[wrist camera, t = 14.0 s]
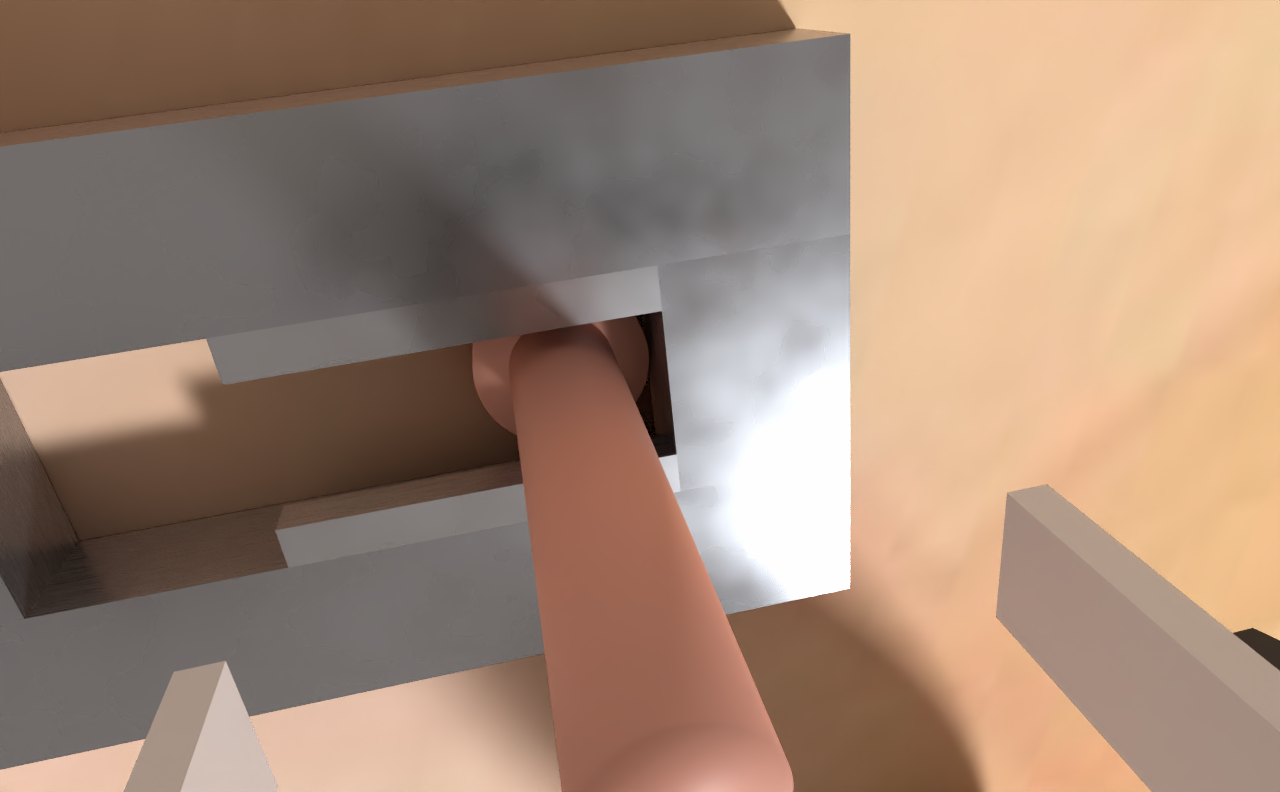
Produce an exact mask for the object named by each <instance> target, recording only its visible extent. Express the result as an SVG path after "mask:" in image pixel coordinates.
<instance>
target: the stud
mask: <svg viewBox="0 0 1280 792" xmlns="http://www.w3.org/2000/svg"><path fill="white" fill-rule="evenodd" d="M648 367H649V352H648V346H647V341H646V338H645V335H644V332H643V330H642V328H641V326H640V324H639V322H638V320H637V318H636V316H629V317H623V318H618V319H612V320H606V321H600V322H594V323H588V324H582V325H576V326H570V327H564V328H558V329H552V330H546V331H540V332H534V333H529V334H523V335H517V336H511V337H505V338H499V339H493V340H487V341H481V342H475V343H472V371H473V379H474V384H475V387H476V391H477V393H478V396H479V398H480V400H481V402H482V404H483V405H484V407H485V409H486V410H487V412H488V413H489V414H490V415H491V416H492V418H493V419H494V420H495V421H496V422H498V423H499V424H500V425H501V426H502V427H504V428H505V429H506V430H508V431H509V432H511V433H513V434H515V435H517V439H518V447H519V454H520V462H521V470H522V478H523V486H524V494H525V502H526V510H527V518H528V526H529V534H530V542H531V549H532V557H533V565H534V573H535V581H536V589H537V597H538V605H539V613H540V621H541V629H542V637H543V644H544V652H545V660H546V668H547V676H548V684H549V692H550V700H551V708H552V716H553V724H554V732H555V739H556V747H557V755H558V763H559V771H560V779H561V787H562V792H793V788H794V783H793V775H792V771H791V768H790V765H789V763H788V760H787V758H786V756H785V753H784V751H783V749H782V746H781V744H780V742H779V739H778V737H777V734H776V732H775V730H774V727H773V725H772V723H771V720H770V718H769V716H768V713H767V711H766V709H765V706H764V704H763V702H762V699H761V697H760V695H759V692H758V690H757V687H756V685H755V683H754V680H753V678H752V676H751V673H750V671H749V669H748V666H747V664H746V662H745V659H744V657H743V655H742V652H741V650H740V648H739V645H738V643H737V641H736V638H735V636H734V633H733V631H732V629H731V626H730V624H729V622H728V619H727V617H726V615H725V612H724V610H723V608H722V605H721V603H720V601H719V598H718V596H717V594H716V591H715V589H714V587H713V584H712V582H711V579H710V577H709V575H708V572H707V570H706V568H705V565H704V563H703V561H702V558H701V556H700V554H699V551H698V549H697V547H696V544H695V542H694V540H693V537H692V535H691V533H690V530H689V528H688V525H687V523H686V521H685V518H684V516H683V514H682V511H681V509H680V507H679V504H678V502H677V500H676V497H675V495H674V493H673V490H672V488H671V486H670V483H669V481H668V479H667V476H666V474H665V471H664V469H663V467H662V464H661V462H660V460H659V457H658V455H657V453H656V450H655V448H654V446H653V443H652V441H651V439H650V436H649V434H648V432H647V429H646V427H645V425H644V422H643V420H642V417H641V415H640V413H639V410H638V408H637V406H636V402H637V400H638V399H639V397H640V395H641V393H642V391H643V388H644V386H645V383H646V379H647V375H648Z"/></svg>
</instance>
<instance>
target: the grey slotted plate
mask: <svg viewBox="0 0 1280 792" xmlns="http://www.w3.org/2000/svg"><path fill="white" fill-rule="evenodd" d="M641 314H642V319H643V327H644V335H645V338H646V341H647V346H648V352H649V367H648V371H649V380H650V389H651V398H652V406H653V415H654V424H655V433H656V434H654V435H649V436H650V439H651V441H652V443H653V446H654V448H655V450H656V453H657V455H658V457H659V460H660V462H661V464H662V467H663V469H664V471H665V474H666V476H667V479H668V481H669V483H670V486H671V488H672V490H673V493H674V495H675V497H676V500H677V502H678V504H679V507H680V509H681V511H682V514H683V516H684V518H685V521H686V523H687V525H688V528H689V530H690V533H691V535H692V537H693V540H694V542H695V544H696V547H697V549H698V551H699V554H700V556H701V558H702V561H703V563H704V565H705V568H706V570H707V572H708V575H709V577H710V579H711V582H712V584H713V587H714V589H715V591H716V594H717V596H718V598H719V601H720V603H721V605H722V608H723V610H724V612H725V615H727V614H732V613H737V612H741V611H746V610H751V609H755V608H760V607H765V606H769V605H774V604H779V603H783V602H788V601H793V600H798V599H802V598H807V597H812V596H816V595H821V594H826V593H830V592H835V591H840V590H844V589H849V588H850V34H847V33H837V32H827V31H817V30H807V29H790V30H782V31H775V32H767V33H759V34H752V35H744V36H736V37H729V38H721V39H714V40H706V41H698V42H691V43H683V44H675V45H668V46H660V47H653V48H645V49H637V50H630V51H622V52H614V53H607V54H599V55H592V56H584V57H576V58H569V59H561V60H553V61H546V62H538V63H530V64H523V65H515V66H508V67H500V68H492V69H485V70H477V71H469V72H462V73H454V74H447V75H439V76H431V77H424V78H416V79H408V80H401V81H393V82H386V83H378V84H370V85H363V86H355V87H347V88H340V89H332V90H325V91H317V92H309V93H302V94H294V95H286V96H279V97H271V98H264V99H256V100H248V101H241V102H233V103H225V104H218V105H210V106H202V107H195V108H187V109H180V110H172V111H164V112H157V113H149V114H141V115H134V116H126V117H119V118H111V119H103V120H96V121H88V122H80V123H73V124H65V125H58V126H50V127H42V128H35V129H27V130H19V131H12V132H4V133H0V372H2V371H8V370H14V369H21V368H27V367H33V366H39V365H45V364H52V363H58V362H64V361H70V360H76V359H82V358H89V357H95V356H101V355H107V354H113V353H119V352H126V351H132V350H138V349H144V348H150V347H156V346H163V345H169V344H175V343H181V342H187V341H194V340H200V339H207V342H208V345H209V348H210V350H211V353H212V356H213V359H214V362H215V364H216V367H217V370H218V373H219V376H220V378H221V381H222V384H223V385H226V384H232V383H238V382H244V381H250V380H256V379H262V378H267V377H273V376H279V375H285V374H291V373H297V372H303V371H309V370H315V369H321V368H327V367H333V366H339V365H345V364H351V363H356V362H362V361H368V360H374V359H380V358H386V357H392V356H398V355H404V354H410V353H416V352H422V351H428V350H434V349H440V348H445V347H451V346H457V345H463V344H469V343H475V342H481V341H487V340H493V339H499V338H505V337H511V336H517V335H523V334H529V333H534V332H540V331H546V330H552V329H558V328H564V327H570V326H576V325H582V324H588V323H594V322H600V321H606V320H612V319H618V318H623V317H629V316H635V315H641ZM540 654H545V652H544V644H543V637H542V629H541V621H540V613H539V605H538V597H537V589H536V581H535V573H534V565H533V557H532V549H531V542H530V534H529V526H528V518H527V510H526V502H525V494H524V486H523V478H522V470H521V462H520V460H515V461H509V462H504V463H498V464H493V465H488V466H482V467H477V468H471V469H466V470H461V471H455V472H450V473H445V474H439V475H434V476H428V477H423V478H418V479H412V480H407V481H402V482H396V483H391V484H385V485H380V486H375V487H369V488H364V489H358V490H353V491H348V492H342V493H337V494H332V495H326V496H321V497H315V498H310V499H305V500H299V501H294V502H289V503H283V504H278V505H272V506H267V507H262V508H256V509H251V510H245V511H240V512H235V513H229V514H224V515H219V516H213V517H208V518H202V519H197V520H192V521H186V522H181V523H175V524H170V525H165V526H159V527H154V528H149V529H143V530H138V531H132V532H127V533H122V534H116V535H111V536H106V537H100V538H95V539H89V540H84V541H79V540H78V538H77V536H76V534H75V532H74V530H73V528H72V526H71V524H70V522H69V520H68V518H67V515H66V513H65V511H64V509H63V507H62V505H61V503H60V501H59V499H58V497H57V495H56V493H55V491H54V489H53V487H52V485H51V482H50V480H49V478H48V476H47V474H46V472H45V470H44V468H43V466H42V464H41V462H40V460H39V458H38V456H37V454H36V452H35V449H34V447H33V445H32V443H31V441H30V439H29V437H28V435H27V433H26V431H25V429H24V427H23V425H22V423H21V421H20V419H19V416H18V414H17V412H16V410H15V408H14V406H13V404H12V402H11V400H10V398H9V396H8V394H7V392H6V390H5V388H4V386H3V383H2V381H1V379H0V770H1V769H6V768H10V767H15V766H20V765H24V764H29V763H34V762H38V761H43V760H48V759H53V758H57V757H62V756H67V755H71V754H76V753H81V752H85V751H90V750H95V749H99V748H104V747H109V746H113V745H118V744H123V743H128V742H132V741H137V740H142V739H146V737H147V735H148V732H149V730H150V727H151V725H152V723H153V720H154V718H155V715H156V713H157V711H158V708H159V706H160V703H161V701H162V699H163V696H164V694H165V691H166V689H167V687H168V684H169V682H170V680H171V677H172V675H173V672H176V671H180V670H185V669H190V668H194V667H199V666H203V665H208V664H213V663H217V662H222V661H226V663H227V665H228V668H229V670H230V672H231V675H232V677H233V680H234V682H235V684H236V687H237V689H238V691H239V694H240V696H241V699H242V701H243V703H244V706H245V708H246V711H247V713H248V715H249V716H254V715H259V714H263V713H268V712H273V711H277V710H282V709H287V708H291V707H296V706H301V705H306V704H310V703H315V702H320V701H324V700H329V699H334V698H338V697H343V696H348V695H352V694H357V693H362V692H366V691H371V690H376V689H381V688H385V687H390V686H395V685H399V684H404V683H409V682H413V681H418V680H423V679H427V678H432V677H437V676H441V675H446V674H451V673H455V672H460V671H465V670H470V669H474V668H479V667H484V666H488V665H493V664H498V663H502V662H507V661H512V660H516V659H521V658H526V657H530V656H535V655H540Z"/></svg>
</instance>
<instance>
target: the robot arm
mask: <svg viewBox="0 0 1280 792" xmlns="http://www.w3.org/2000/svg"><path fill="white" fill-rule="evenodd" d="M996 617H997V619H998V620H999V621H1000V622H1001V623H1002V624H1003V625H1004V626H1005V628H1006V629H1007V630H1008V631H1009V632H1010V633H1011V634H1012V635H1013V637H1014V638H1015V639H1016V640H1017V641H1018V642H1019V643H1020V644H1021V645H1022V647H1023V648H1024V649H1025V650H1026V651H1027V652H1028V653H1029V654H1030V656H1031V657H1032V658H1033V659H1034V660H1035V661H1036V662H1037V663H1038V665H1039V666H1040V667H1041V668H1042V669H1043V670H1044V671H1045V672H1046V674H1047V675H1048V676H1049V677H1050V678H1051V679H1052V680H1053V681H1054V682H1055V684H1056V685H1057V686H1058V687H1059V688H1060V689H1061V690H1062V691H1063V693H1064V694H1065V695H1066V696H1067V697H1068V698H1069V699H1070V700H1071V702H1072V703H1073V704H1074V705H1075V706H1076V707H1077V708H1078V709H1079V711H1080V712H1081V713H1082V714H1083V715H1084V716H1085V717H1086V718H1087V720H1088V721H1089V722H1090V723H1091V724H1092V725H1093V726H1094V727H1095V728H1096V730H1097V731H1098V732H1099V733H1100V734H1101V735H1102V736H1103V737H1104V739H1105V740H1106V741H1107V742H1108V743H1109V744H1110V745H1111V746H1112V748H1113V749H1114V750H1115V751H1116V752H1117V753H1118V754H1119V755H1120V757H1121V758H1122V759H1123V760H1124V761H1125V762H1126V763H1127V764H1128V765H1129V767H1130V768H1131V769H1132V770H1133V771H1134V772H1135V773H1136V774H1137V776H1138V777H1139V778H1140V779H1141V780H1142V781H1143V782H1144V783H1145V785H1146V786H1147V787H1148V788H1149V789H1150V790H1151V791H1152V792H1280V641H1279V640H1277V639H1275V638H1273V637H1271V636H1269V635H1267V634H1265V633H1262V632H1260V631H1258V630H1256V629H1254V628H1251V629H1247V630H1243V631H1239V632H1235V633H1232V632H1231V631H1229V630H1228V629H1227V628H1226V627H1224V626H1223V625H1222V624H1221V623H1219V622H1218V621H1217V620H1216V619H1214V618H1213V617H1212V616H1211V615H1209V614H1208V613H1207V612H1206V611H1204V610H1203V609H1202V608H1201V607H1199V606H1198V605H1197V604H1196V603H1194V602H1193V601H1192V600H1191V599H1189V598H1188V597H1187V596H1186V595H1185V594H1183V593H1182V592H1181V591H1180V590H1178V589H1177V588H1176V587H1175V586H1173V585H1172V584H1171V583H1170V582H1168V581H1167V580H1166V579H1165V578H1163V577H1162V576H1161V575H1160V574H1158V573H1157V572H1156V571H1155V570H1153V569H1152V568H1151V567H1150V566H1148V565H1147V564H1146V563H1145V562H1143V561H1142V560H1141V559H1140V558H1138V557H1137V556H1136V555H1135V554H1133V553H1132V552H1131V551H1130V550H1128V549H1127V548H1126V547H1125V546H1123V545H1122V544H1121V543H1120V542H1118V541H1117V540H1116V539H1115V538H1113V537H1112V536H1111V535H1110V534H1109V533H1107V532H1106V531H1105V530H1104V529H1102V528H1101V527H1100V526H1099V525H1097V524H1096V523H1095V522H1094V521H1092V520H1091V519H1090V518H1089V517H1087V516H1086V515H1085V514H1084V513H1082V512H1081V511H1080V510H1079V509H1077V508H1076V507H1075V506H1074V505H1072V504H1071V503H1070V502H1069V501H1067V500H1066V499H1065V498H1064V497H1062V496H1061V495H1060V494H1059V493H1057V492H1056V491H1055V490H1054V489H1052V488H1051V487H1050V486H1049V485H1047V484H1046V485H1041V486H1037V487H1032V488H1027V489H1023V490H1018V491H1014V492H1009V493H1007V500H1006V511H1005V522H1004V533H1003V544H1002V555H1001V566H1000V577H999V588H998V599H997V610H996ZM277 787H278V785H277V782H276V780H275V777H274V775H273V773H272V770H271V768H270V766H269V763H268V761H267V758H266V756H265V754H264V751H263V749H262V746H261V744H260V742H259V739H258V737H257V734H256V732H255V730H254V727H253V725H252V723H251V720H250V718H249V715H248V713H247V711H246V708H245V706H244V703H243V701H242V699H241V696H240V694H239V691H238V689H237V687H236V684H235V682H234V680H233V677H232V675H231V672H230V670H229V668H228V665H227V663H226V661H222V662H217V663H213V664H208V665H203V666H199V667H194V668H190V669H185V670H180V671H176V672H173V675H172V677H171V680H170V682H169V684H168V687H167V689H166V691H165V694H164V696H163V699H162V701H161V703H160V706H159V708H158V711H157V713H156V715H155V718H154V720H153V723H152V725H151V727H150V730H149V732H148V735H147V737H146V739H145V742H144V744H143V747H142V749H141V751H140V754H139V756H138V758H137V761H136V763H135V766H134V768H133V770H132V773H131V775H130V778H129V780H128V782H127V785H126V787H125V790H124V792H277Z"/></svg>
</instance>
